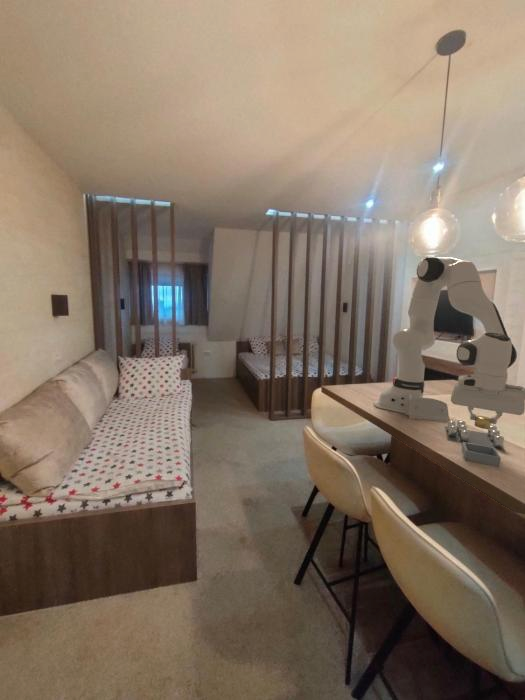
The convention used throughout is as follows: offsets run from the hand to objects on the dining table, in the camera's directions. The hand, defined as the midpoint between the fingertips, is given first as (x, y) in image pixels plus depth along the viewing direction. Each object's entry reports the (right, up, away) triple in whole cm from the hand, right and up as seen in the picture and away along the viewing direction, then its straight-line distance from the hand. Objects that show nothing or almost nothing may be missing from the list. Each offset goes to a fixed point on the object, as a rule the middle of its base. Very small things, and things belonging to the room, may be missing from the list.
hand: (482, 421), depth 106 cm
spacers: (+4, -9, +11) cm, 14 cm away
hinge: (-2, -6, +32) cm, 33 cm away
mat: (+4, -9, +11) cm, 14 cm away
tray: (-5, -11, -5) cm, 13 cm away
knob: (0, -2, 0) cm, 2 cm away
